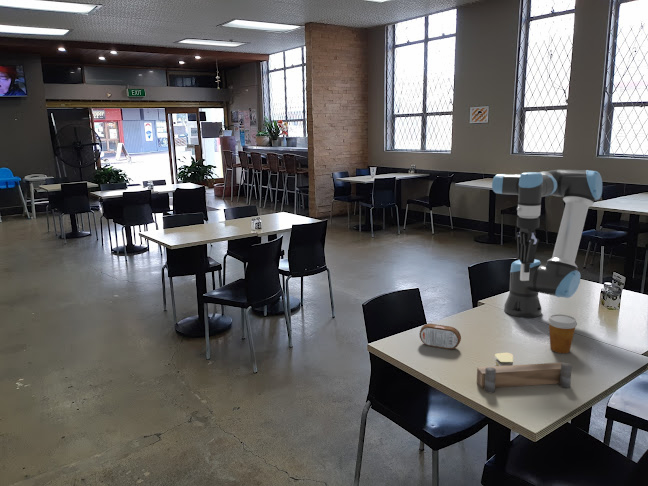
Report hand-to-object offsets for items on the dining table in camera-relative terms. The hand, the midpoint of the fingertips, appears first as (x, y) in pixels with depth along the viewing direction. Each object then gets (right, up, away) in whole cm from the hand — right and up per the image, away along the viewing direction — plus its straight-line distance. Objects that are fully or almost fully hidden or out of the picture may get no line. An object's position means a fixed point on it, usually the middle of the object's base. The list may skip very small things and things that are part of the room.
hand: (524, 280), depth 180 cm
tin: (-30, -25, +4) cm, 40 cm away
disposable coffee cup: (+12, -25, -2) cm, 28 cm away
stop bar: (-10, -31, -25) cm, 41 cm away
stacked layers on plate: (-13, -30, -16) cm, 36 cm away
